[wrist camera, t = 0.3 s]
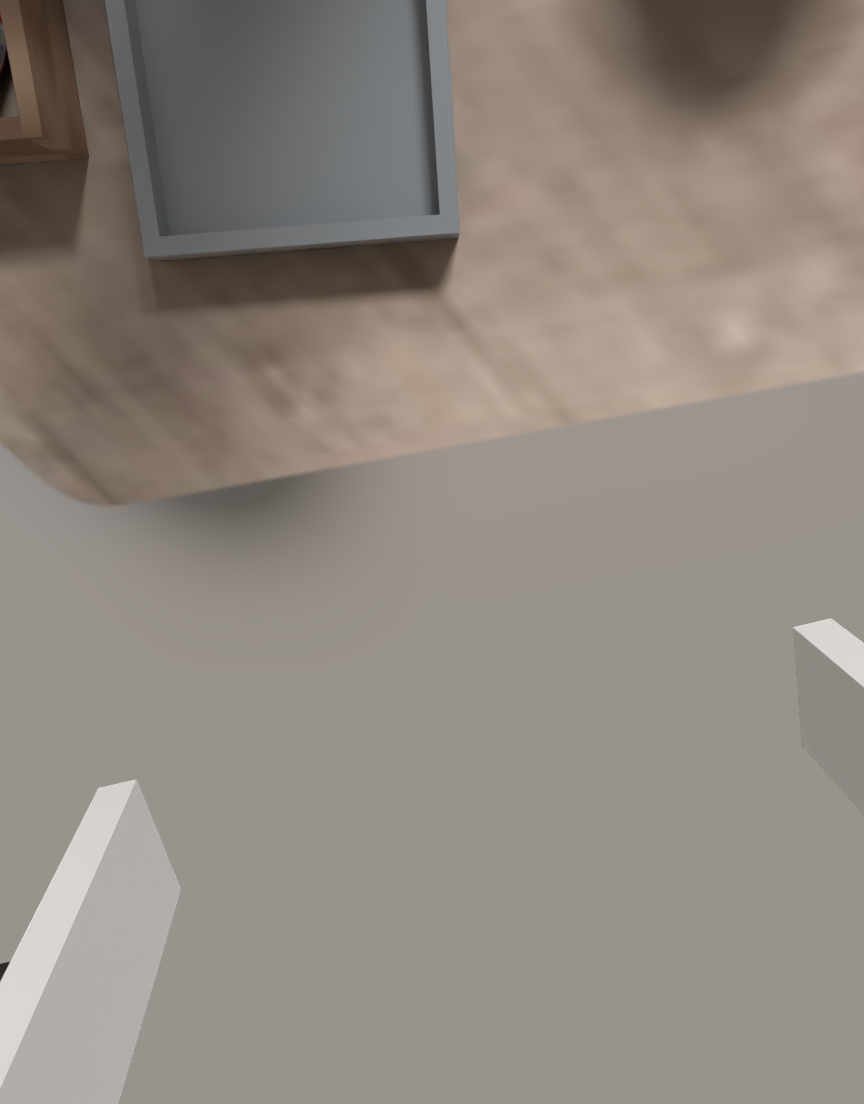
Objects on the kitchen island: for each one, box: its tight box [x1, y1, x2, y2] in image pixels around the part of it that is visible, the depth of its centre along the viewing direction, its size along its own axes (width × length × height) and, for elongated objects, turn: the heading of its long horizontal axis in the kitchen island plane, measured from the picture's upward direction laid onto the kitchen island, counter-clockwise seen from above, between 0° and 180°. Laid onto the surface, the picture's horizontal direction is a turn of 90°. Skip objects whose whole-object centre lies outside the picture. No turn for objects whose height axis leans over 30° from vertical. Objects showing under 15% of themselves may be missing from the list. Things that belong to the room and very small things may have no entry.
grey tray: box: [105, 0, 459, 261], centre depth 35 cm, size 18×14×2 cm
